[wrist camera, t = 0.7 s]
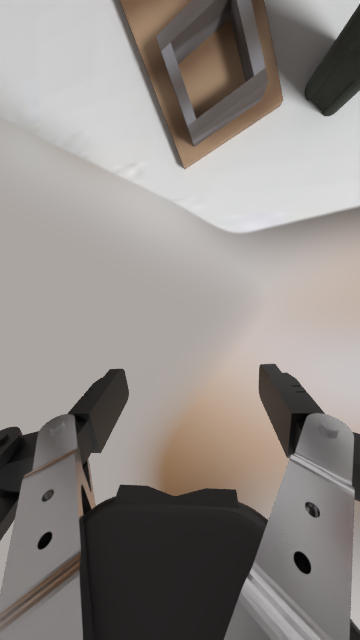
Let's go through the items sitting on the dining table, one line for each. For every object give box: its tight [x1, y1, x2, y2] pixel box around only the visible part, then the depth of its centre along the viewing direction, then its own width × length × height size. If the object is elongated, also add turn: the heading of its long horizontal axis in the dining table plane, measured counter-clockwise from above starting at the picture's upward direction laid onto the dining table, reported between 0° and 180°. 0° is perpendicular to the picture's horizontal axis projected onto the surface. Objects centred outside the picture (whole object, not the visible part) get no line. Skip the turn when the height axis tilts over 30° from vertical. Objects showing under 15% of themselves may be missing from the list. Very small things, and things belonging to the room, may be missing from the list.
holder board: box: [120, 0, 283, 169], centre depth 21 cm, size 20×14×5 cm
